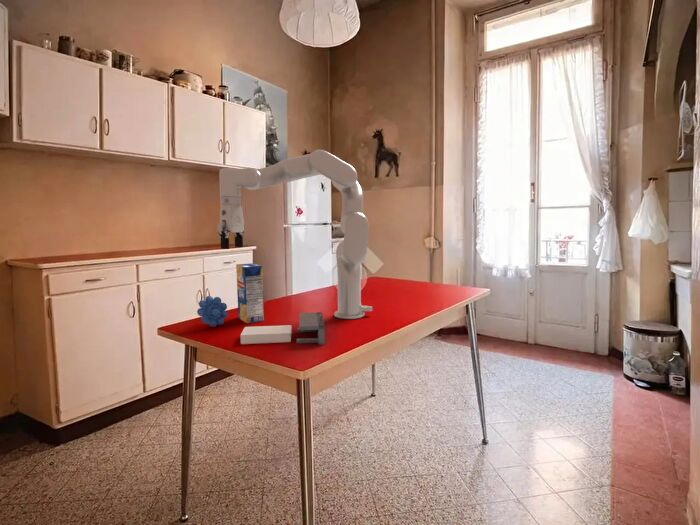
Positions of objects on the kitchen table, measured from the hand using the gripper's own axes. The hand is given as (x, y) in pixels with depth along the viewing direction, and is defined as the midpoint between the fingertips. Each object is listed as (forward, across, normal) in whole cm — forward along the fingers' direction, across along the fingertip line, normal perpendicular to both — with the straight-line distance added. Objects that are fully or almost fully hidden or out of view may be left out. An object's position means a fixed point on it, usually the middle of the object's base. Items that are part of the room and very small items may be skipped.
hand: (232, 247), depth 149 cm
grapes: (+30, -6, +5) cm, 31 cm away
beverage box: (+30, +7, -3) cm, 31 cm away
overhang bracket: (+29, -9, -35) cm, 46 cm away
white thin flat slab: (+29, -15, -21) cm, 39 cm away
